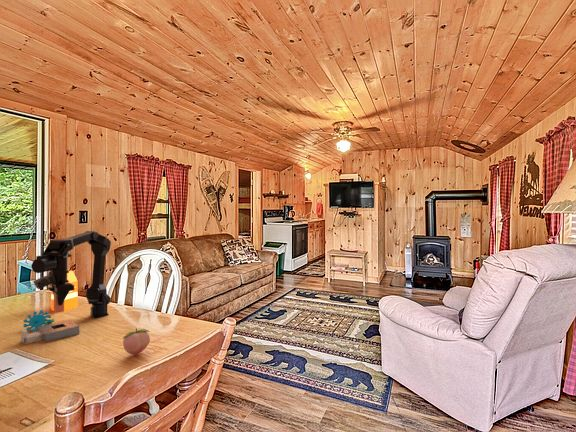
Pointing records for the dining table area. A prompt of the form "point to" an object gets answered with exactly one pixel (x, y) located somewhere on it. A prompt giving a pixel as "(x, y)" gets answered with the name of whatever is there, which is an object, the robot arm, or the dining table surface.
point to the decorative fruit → (136, 341)
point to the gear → (37, 320)
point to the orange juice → (71, 298)
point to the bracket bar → (31, 337)
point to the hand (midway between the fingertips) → (58, 304)
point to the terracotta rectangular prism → (56, 306)
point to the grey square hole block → (58, 330)
